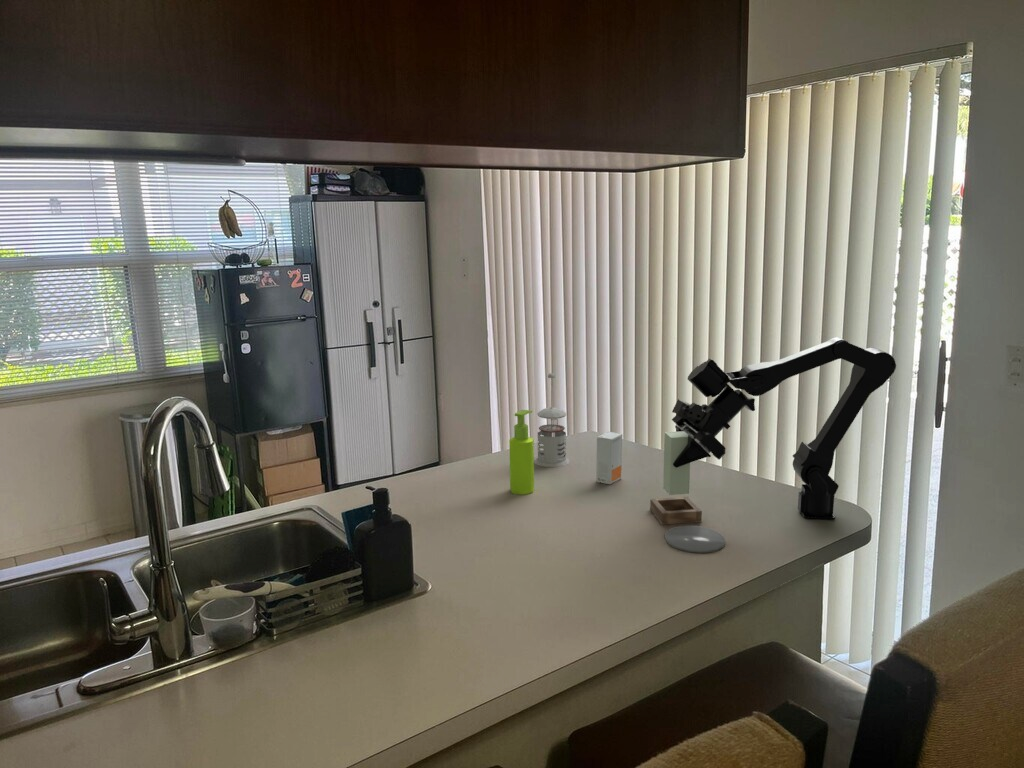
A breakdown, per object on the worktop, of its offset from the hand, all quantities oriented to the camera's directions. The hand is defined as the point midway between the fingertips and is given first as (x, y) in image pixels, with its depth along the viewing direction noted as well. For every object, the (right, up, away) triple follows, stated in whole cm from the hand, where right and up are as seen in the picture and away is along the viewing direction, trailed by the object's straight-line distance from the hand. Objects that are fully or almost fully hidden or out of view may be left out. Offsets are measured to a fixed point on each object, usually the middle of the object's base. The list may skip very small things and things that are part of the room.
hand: (670, 462), depth 159 cm
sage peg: (+2, -6, +2) cm, 7 cm away
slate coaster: (+3, -15, -10) cm, 18 cm away
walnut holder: (+2, -12, +3) cm, 12 cm away
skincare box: (-10, -8, +26) cm, 29 cm away
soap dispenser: (-32, -9, +21) cm, 39 cm away
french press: (-24, -4, +43) cm, 49 cm away
